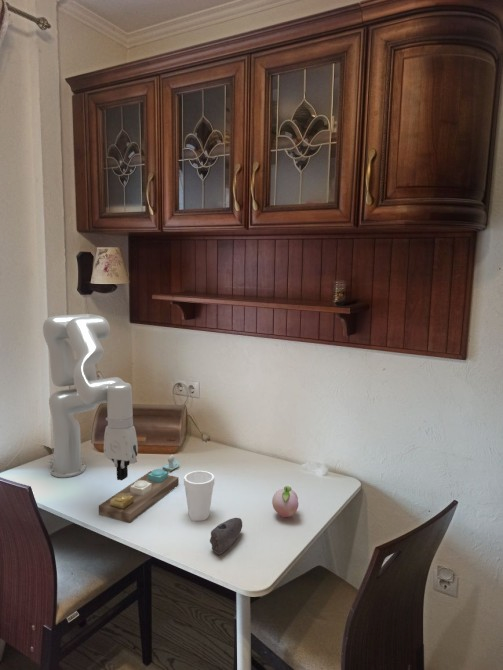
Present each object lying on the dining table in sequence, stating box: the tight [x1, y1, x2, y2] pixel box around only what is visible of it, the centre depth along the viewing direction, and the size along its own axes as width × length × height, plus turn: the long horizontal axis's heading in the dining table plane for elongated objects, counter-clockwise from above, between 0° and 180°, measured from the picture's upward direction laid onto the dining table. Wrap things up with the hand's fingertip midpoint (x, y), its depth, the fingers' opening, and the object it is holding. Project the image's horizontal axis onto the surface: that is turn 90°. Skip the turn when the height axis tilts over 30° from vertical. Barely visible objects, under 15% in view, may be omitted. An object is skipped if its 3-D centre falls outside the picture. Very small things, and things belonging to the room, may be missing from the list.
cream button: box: [130, 480, 152, 496], centre depth 161 cm, size 5×5×4 cm
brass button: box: [110, 493, 133, 510], centre depth 152 cm, size 5×5×4 cm
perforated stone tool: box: [209, 517, 243, 555], centre depth 136 cm, size 15×5×7 cm, turn 148°
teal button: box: [148, 468, 169, 483], centre depth 170 cm, size 5×5×4 cm
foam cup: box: [183, 470, 215, 522], centre depth 151 cm, size 10×9×13 cm
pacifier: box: [160, 454, 180, 472], centre depth 185 cm, size 7×6×6 cm
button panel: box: [98, 470, 180, 524], centre depth 161 cm, size 12×28×3 cm, turn 157°
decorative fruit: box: [271, 485, 299, 518], centre depth 151 cm, size 9×8×10 cm
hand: (122, 478), depth 150 cm, fingers closed
